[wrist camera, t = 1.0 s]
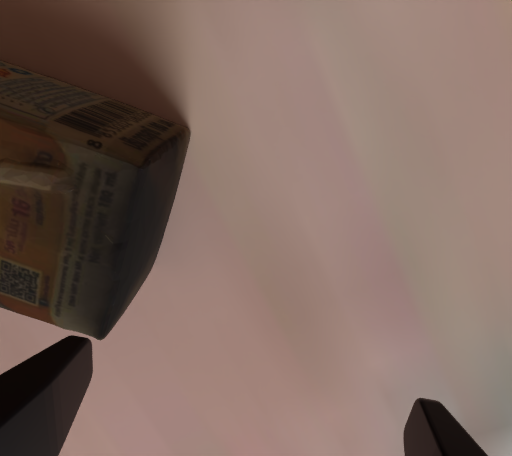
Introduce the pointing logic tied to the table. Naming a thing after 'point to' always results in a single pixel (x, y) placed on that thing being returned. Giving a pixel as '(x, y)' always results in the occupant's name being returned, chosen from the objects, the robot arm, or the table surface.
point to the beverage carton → (80, 200)
